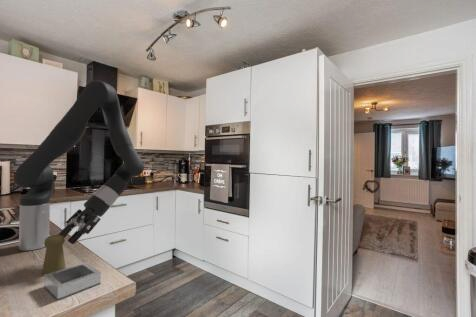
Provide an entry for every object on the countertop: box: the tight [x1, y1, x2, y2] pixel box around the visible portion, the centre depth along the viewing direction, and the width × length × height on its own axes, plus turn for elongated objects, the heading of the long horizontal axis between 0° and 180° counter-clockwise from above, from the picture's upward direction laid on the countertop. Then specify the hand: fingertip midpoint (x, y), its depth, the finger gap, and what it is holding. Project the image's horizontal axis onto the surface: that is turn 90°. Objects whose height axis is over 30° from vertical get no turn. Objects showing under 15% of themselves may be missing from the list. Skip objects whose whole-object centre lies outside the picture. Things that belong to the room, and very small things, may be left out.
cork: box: [41, 234, 67, 275], centre depth 77 cm, size 6×6×11 cm
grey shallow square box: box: [43, 262, 102, 302], centre depth 68 cm, size 10×10×3 cm
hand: (65, 239), depth 80 cm, fingers open, 8 cm apart
